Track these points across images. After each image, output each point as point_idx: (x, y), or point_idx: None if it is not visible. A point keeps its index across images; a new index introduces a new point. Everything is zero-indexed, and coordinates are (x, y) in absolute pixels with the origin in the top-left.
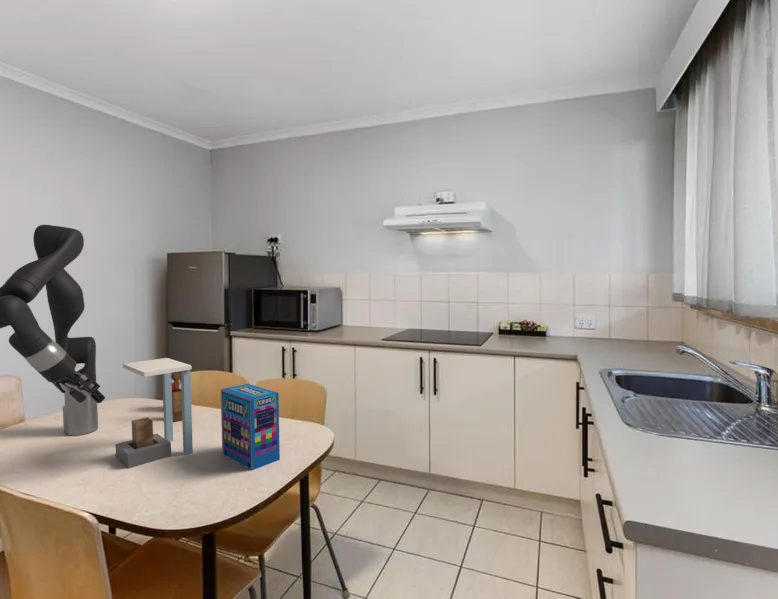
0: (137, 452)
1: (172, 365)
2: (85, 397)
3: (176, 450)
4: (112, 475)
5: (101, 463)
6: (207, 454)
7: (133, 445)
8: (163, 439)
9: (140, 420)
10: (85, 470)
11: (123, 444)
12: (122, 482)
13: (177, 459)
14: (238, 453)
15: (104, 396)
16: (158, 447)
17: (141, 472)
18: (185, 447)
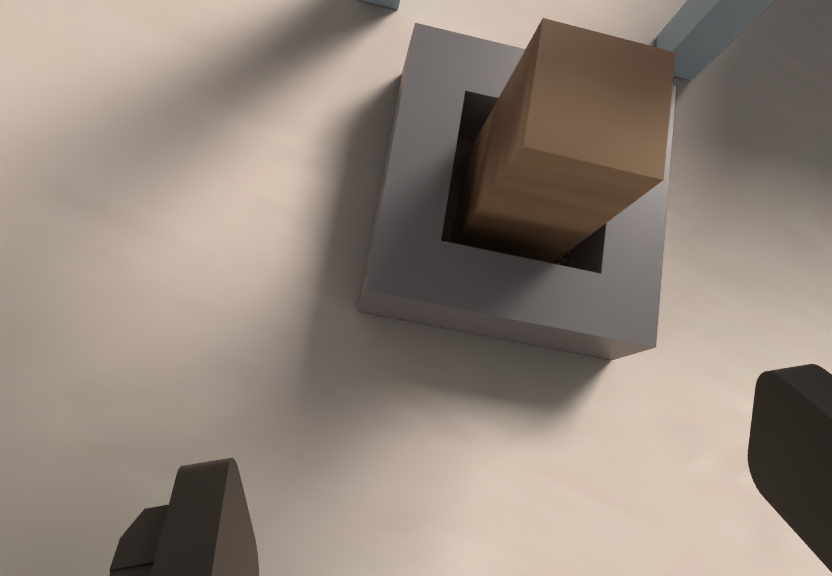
0: (657, 288)
1: None
2: (231, 472)
3: None
4: (637, 464)
5: (383, 416)
6: (778, 25)
7: (491, 229)
8: None
9: (591, 104)
10: (412, 531)
11: (433, 265)
12: None
13: (714, 143)
14: None
15: (824, 369)
16: (665, 164)
17: (729, 348)
18: (710, 55)
